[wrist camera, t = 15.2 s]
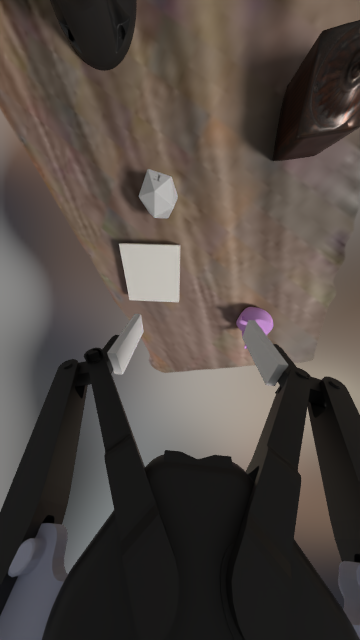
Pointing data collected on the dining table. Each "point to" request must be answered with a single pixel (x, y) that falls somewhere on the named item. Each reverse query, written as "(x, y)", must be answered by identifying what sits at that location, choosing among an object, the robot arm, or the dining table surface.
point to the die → (158, 194)
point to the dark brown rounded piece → (322, 96)
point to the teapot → (257, 315)
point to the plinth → (151, 271)
